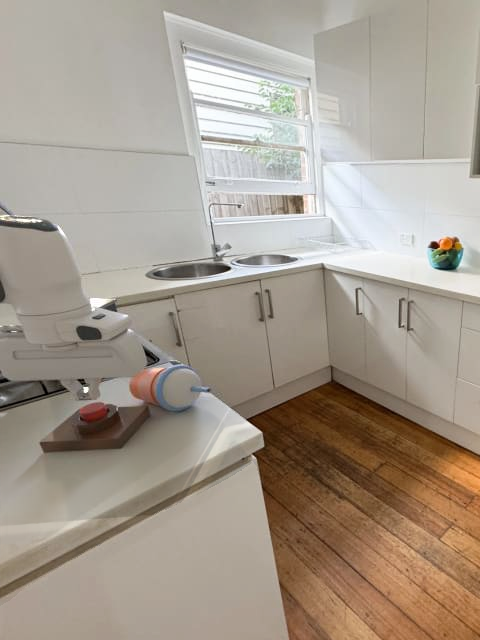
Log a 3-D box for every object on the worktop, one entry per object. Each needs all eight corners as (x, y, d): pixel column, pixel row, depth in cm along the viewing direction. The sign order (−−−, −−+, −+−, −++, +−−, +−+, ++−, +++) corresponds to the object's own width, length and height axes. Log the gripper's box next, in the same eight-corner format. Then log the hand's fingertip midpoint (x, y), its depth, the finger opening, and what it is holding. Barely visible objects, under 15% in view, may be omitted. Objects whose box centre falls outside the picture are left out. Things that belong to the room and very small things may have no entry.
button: (77, 422, 65) (73, 413, 65) (90, 410, 69) (87, 402, 68) (99, 421, 66) (96, 412, 65) (112, 409, 69) (109, 401, 68)
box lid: (117, 301, 93) (116, 298, 93) (85, 317, 83) (84, 314, 82) (62, 301, 92) (61, 298, 91) (23, 318, 81) (21, 314, 81)
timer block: (43, 452, 63) (34, 433, 62) (83, 418, 72) (76, 400, 71) (121, 448, 65) (114, 429, 63) (151, 415, 74) (145, 397, 72)
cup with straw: (130, 357, 76) (195, 360, 69) (171, 368, 84) (233, 372, 77) (113, 402, 73) (180, 410, 67) (157, 409, 81) (221, 417, 75)
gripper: (-32, 332, 56) (6, 411, 62) (118, 330, 58) (141, 406, 64) (4, 318, 62) (36, 391, 67) (140, 316, 64) (160, 387, 70)
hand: (89, 398), depth 66 cm, fingers closed
